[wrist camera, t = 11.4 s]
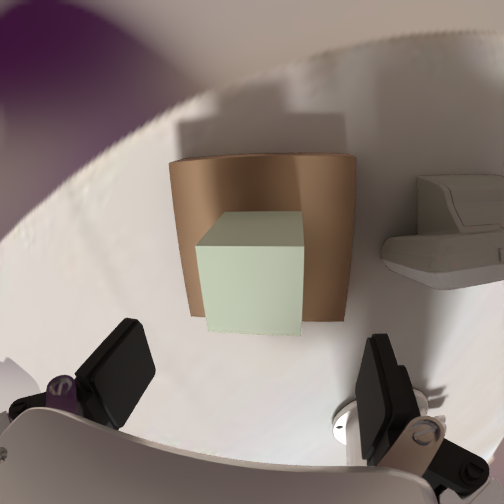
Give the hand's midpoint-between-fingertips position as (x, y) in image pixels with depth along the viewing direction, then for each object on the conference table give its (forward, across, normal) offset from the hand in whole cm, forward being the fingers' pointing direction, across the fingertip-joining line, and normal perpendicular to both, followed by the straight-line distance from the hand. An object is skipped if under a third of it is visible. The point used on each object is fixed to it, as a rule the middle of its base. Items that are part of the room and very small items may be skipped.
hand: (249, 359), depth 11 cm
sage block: (+10, +1, -1) cm, 10 cm away
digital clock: (+13, -16, -2) cm, 21 cm away
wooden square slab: (+13, +1, -1) cm, 13 cm away
